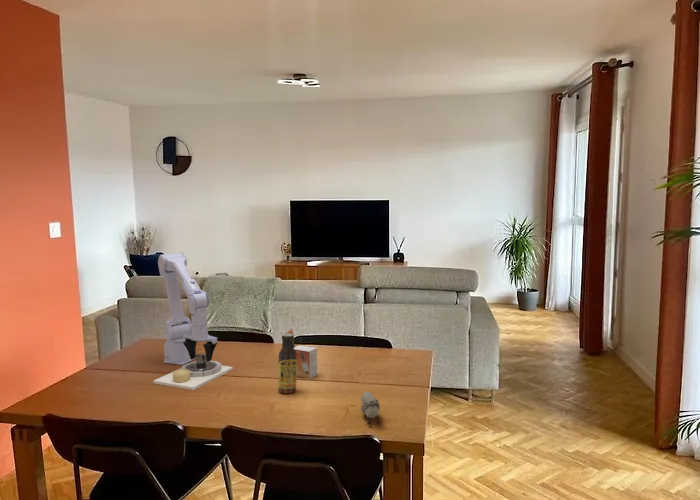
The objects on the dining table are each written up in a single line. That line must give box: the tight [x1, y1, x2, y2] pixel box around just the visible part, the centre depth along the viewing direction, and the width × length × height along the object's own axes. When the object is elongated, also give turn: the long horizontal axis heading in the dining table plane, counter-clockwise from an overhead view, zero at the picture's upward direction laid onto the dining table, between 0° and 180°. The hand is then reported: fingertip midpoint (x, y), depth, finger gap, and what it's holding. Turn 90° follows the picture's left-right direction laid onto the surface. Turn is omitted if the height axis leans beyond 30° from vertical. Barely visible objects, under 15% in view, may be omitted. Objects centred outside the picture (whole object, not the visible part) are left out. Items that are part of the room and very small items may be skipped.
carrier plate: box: [152, 360, 234, 391], centre depth 200 cm, size 18×23×4 cm
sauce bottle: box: [277, 332, 298, 394], centre depth 183 cm, size 6×6×20 cm
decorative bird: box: [360, 390, 382, 426], centre depth 163 cm, size 5×16×8 cm, turn 7°
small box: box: [294, 344, 318, 380], centre depth 199 cm, size 8×6×10 cm
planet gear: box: [188, 353, 215, 372], centre depth 204 cm, size 10×10×6 cm
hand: (200, 359), depth 203 cm, fingers open, 7 cm apart
